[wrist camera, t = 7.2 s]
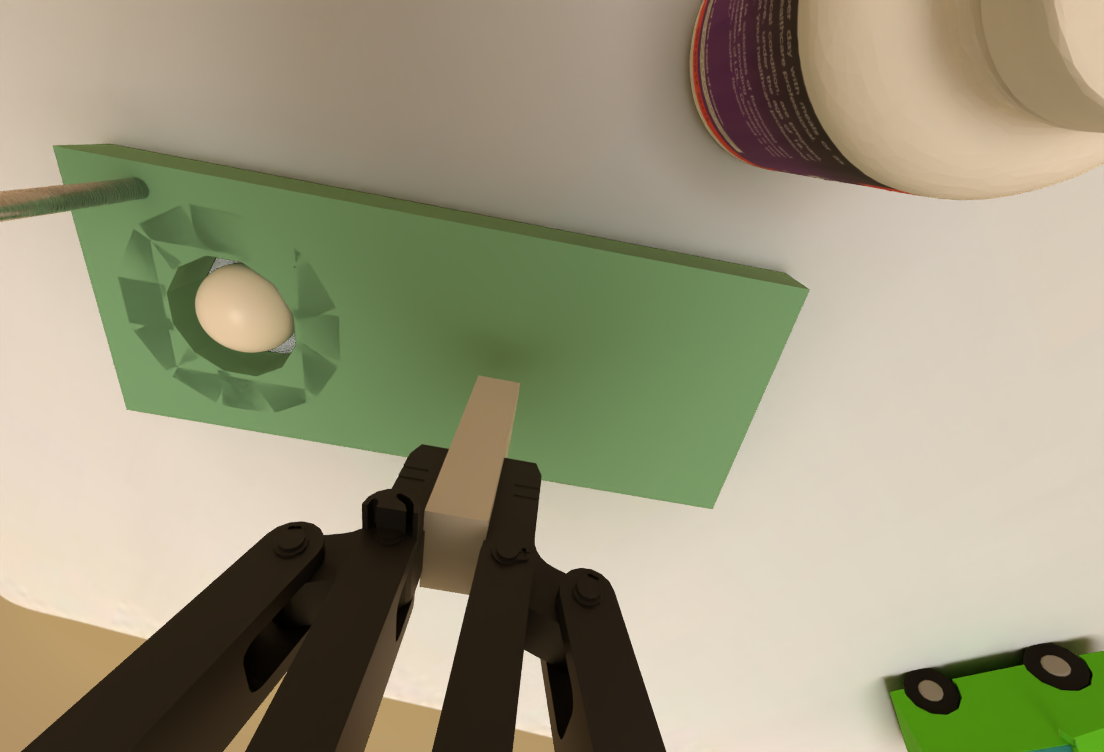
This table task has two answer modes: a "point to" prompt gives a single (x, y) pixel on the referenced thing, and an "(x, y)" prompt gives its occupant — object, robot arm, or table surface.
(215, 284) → the ball
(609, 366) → the putting mat
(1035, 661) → the toy car
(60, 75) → the table surface
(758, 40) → the pill bottle
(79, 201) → the flag pin
